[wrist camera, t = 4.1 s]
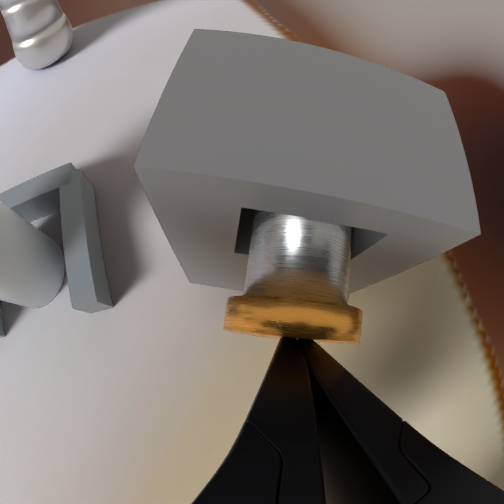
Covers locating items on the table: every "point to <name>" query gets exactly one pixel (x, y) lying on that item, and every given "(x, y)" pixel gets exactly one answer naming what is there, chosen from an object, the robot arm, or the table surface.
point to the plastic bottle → (37, 31)
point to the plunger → (296, 282)
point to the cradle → (68, 231)
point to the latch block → (302, 156)
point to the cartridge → (27, 262)
